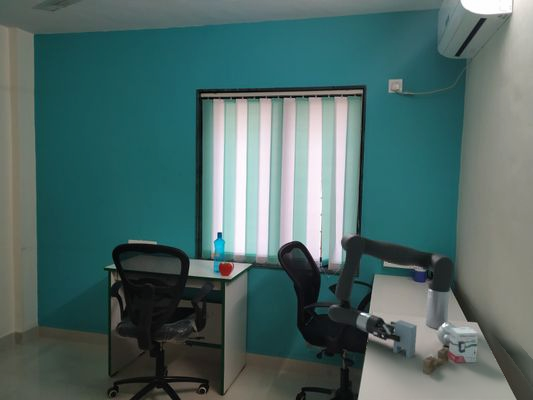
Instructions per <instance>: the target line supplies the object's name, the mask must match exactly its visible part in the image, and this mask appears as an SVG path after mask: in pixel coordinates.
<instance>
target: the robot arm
mask: <svg viewBox="0 0 533 400" xmlns="http://www.w3.org/2000/svg"><path fill="white" fill-rule="evenodd" d="M340 245H341V247H342V249H343V250H344V251H345V261H344V264H343V267H342V269H341V272H340V274H339V277H338V279H337V282H336V288H335V292H334V297H335V298H336V299H338V304H332V305H331V306H329V308H328V309H327V315H328V317H329V319H330V320H332V321H333V322H335V323H341V324H343V325H349V326H351V327H354V328H357V329H359V330H361V331H363V332H366V333H368V334H371V335H373V337H376V338H378V339H381V340H383V341H387V340H391V341H393V342H394V341H397V342H400V336H398V335H395V334H394V329H395V322H396V321H395V322H394V321H390V323H388V322H385V320H384V318H382V317H380V316H377V315H373V314H371V313H367V312H363V311H361V310H357V309H352V304H351V303H352V300H351V296H352V292H353V287H354V282H355V277H356V274H357V271H358V268H359V264H360V262H361V259H362V256H363V255H366V256H370V257H373V258H375V259H377V260H380V261H383V262H386V263H388V264H392V265H395V266H396V265H397V266H403V267H412V266H413V267H419V268H422V269H425V270H428V271H430V272H431V273H433V275H432V280H430V281H428V284H427V285H428V286H427V301H426V302H427V304H426V316H425V317H426V318H425V325H426V326H427V327H430V328H432V329H437V330H438V329H439V327H440V326H442V325H443V324H444V323H445V322H449V308H450V307H449V306H450V297H451V287H452V285H453V281H454V273H455V271H454V270H455V266H454V265H455V264H454V262H453V259H451V258H450V257H448V256H447V255H444V254H442V253H437V252H429V251H422V250H418V249H415V248H412V247H409V246H406V245H402V244H399V243H395V242H390V241H385V240H384V241H382V240H374V239H371V238H367V237H364V236H362V235H360V234H359V235H358V234H356V233H354V232H353V233H352V232H350V233H349V232H348V233H347V234H345V235H343V236H342V238H341V240H340Z"/></svg>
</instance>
